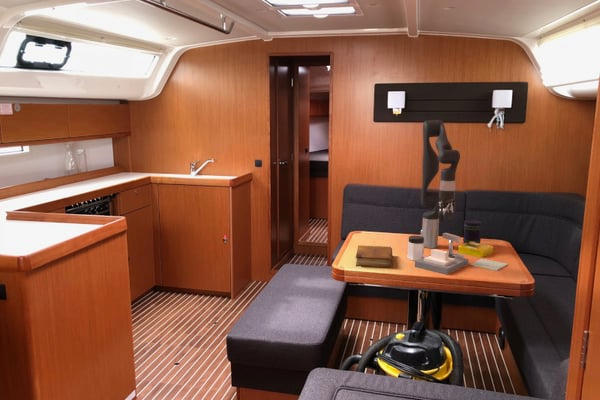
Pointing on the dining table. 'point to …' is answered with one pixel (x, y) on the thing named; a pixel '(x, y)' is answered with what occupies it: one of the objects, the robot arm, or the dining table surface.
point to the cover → (439, 257)
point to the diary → (374, 256)
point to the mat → (488, 264)
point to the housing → (440, 268)
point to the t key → (451, 239)
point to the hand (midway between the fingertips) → (445, 220)
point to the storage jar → (472, 231)
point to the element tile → (475, 249)
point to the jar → (415, 248)
